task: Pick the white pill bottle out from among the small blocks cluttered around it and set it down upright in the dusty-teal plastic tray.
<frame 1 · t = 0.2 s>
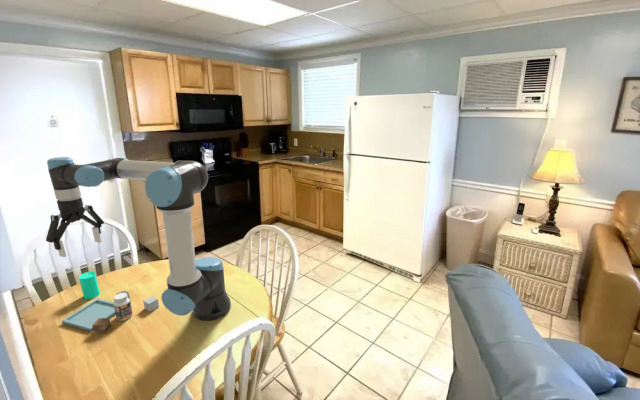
hand: (81, 248, 124), 27 cm above the table, fingers open, 13 cm apart
grey block: (151, 307, 133), on the table
tray: (95, 315, 127), on the table
candle: (92, 295, 140), on the table
dark grey stone: (123, 300, 137), on the table
pill bottle: (124, 317, 127), on the table
walnut block: (102, 330, 119), on the table
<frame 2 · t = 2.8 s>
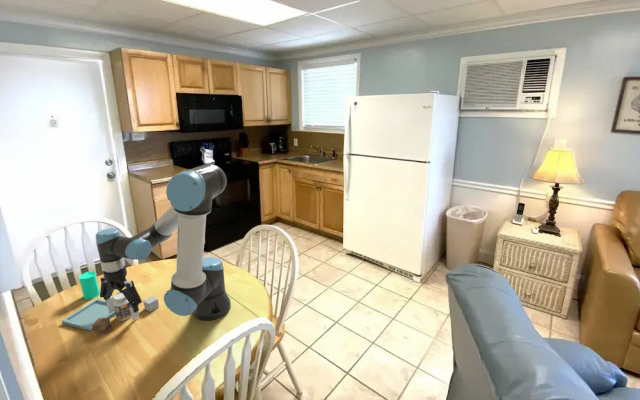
hand: (124, 315, 127), 1 cm above the table, fingers open, 11 cm apart
nothing on the table moved.
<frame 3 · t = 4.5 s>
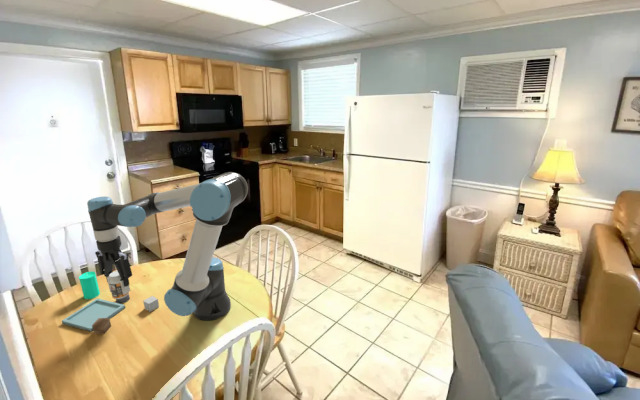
hand: (120, 291, 123), 12 cm above the table, fingers closed on pill bottle, 6 cm apart
pill bottle: (121, 295, 123), point 10 cm above the table, touching gripper
everything else where it was.
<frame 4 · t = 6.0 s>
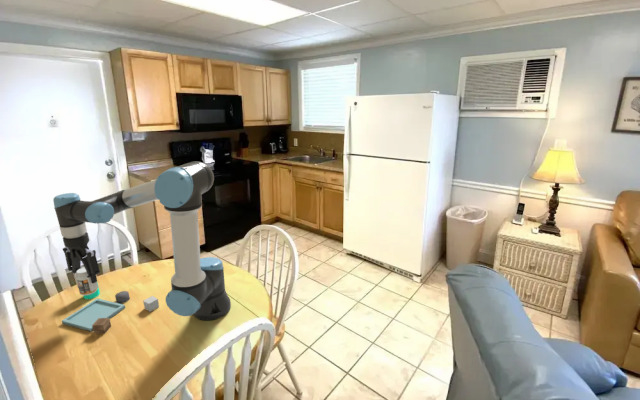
hand: (88, 287, 123), 13 cm above the table, fingers closed on pill bottle, 6 cm apart
pill bottle: (89, 292, 124), point 11 cm above the table, touching gripper
everything else where it was.
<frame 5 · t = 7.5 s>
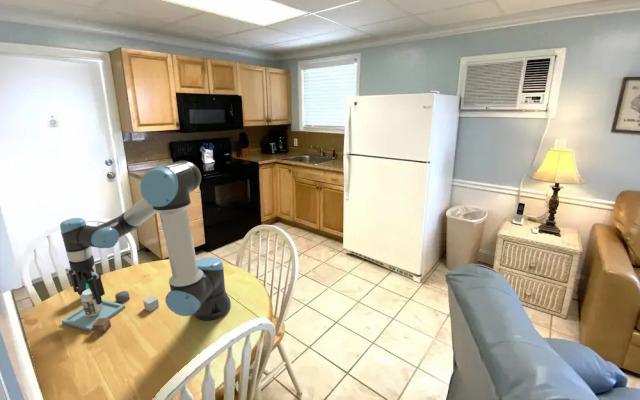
hand: (93, 308, 126), 3 cm above the table, fingers closed on pill bottle, 6 cm apart
pill bottle: (94, 312, 127), point 1 cm above the table, touching gripper
everything else where it was.
when the fingers open (2 cm above the table, at t = 8.1 s): pill bottle stays where it is, resting on tray.
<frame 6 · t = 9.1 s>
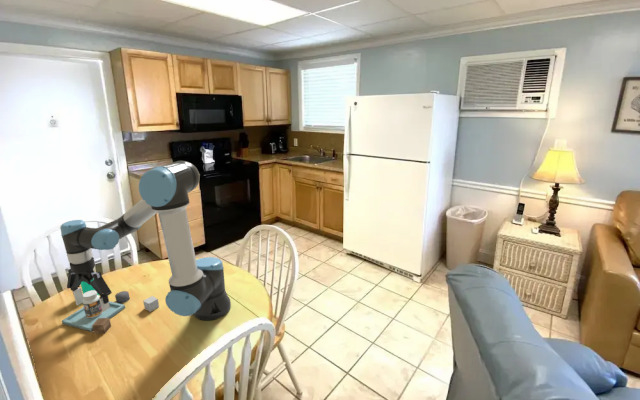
hand: (93, 306, 126), 4 cm above the table, fingers open, 13 cm apart
pill bottle: (94, 314, 127), resting on tray
everything else where it was.
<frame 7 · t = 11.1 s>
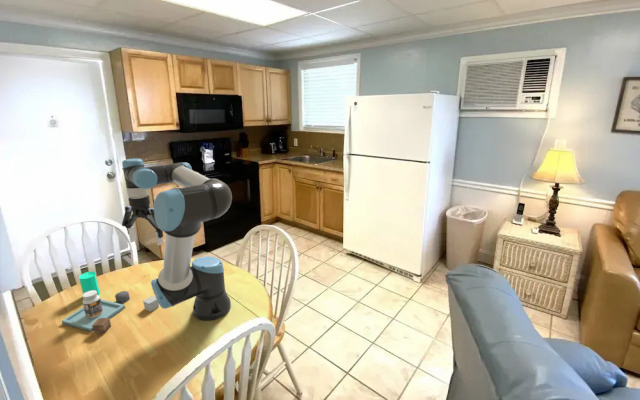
hand: (146, 242, 135), 25 cm above the table, fingers open, 13 cm apart
nothing on the table moved.
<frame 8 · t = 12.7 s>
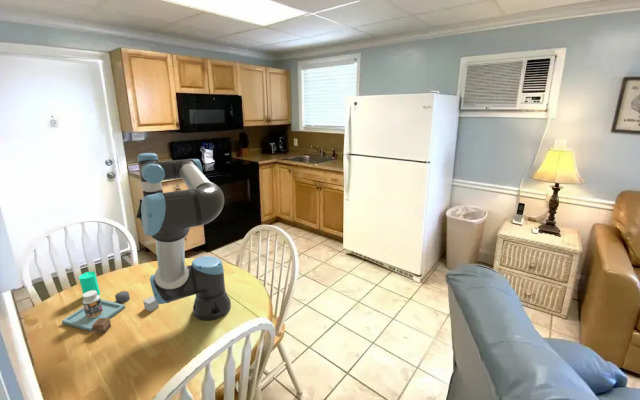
hand: (159, 235, 139), 27 cm above the table, fingers open, 13 cm apart
nothing on the table moved.
at the end: pill bottle inside the target area on the tray (0.0 cm from its centre), point 0.4 cm above the tray's base; pill bottle tilted 0°; the gripper is holding nothing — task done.
